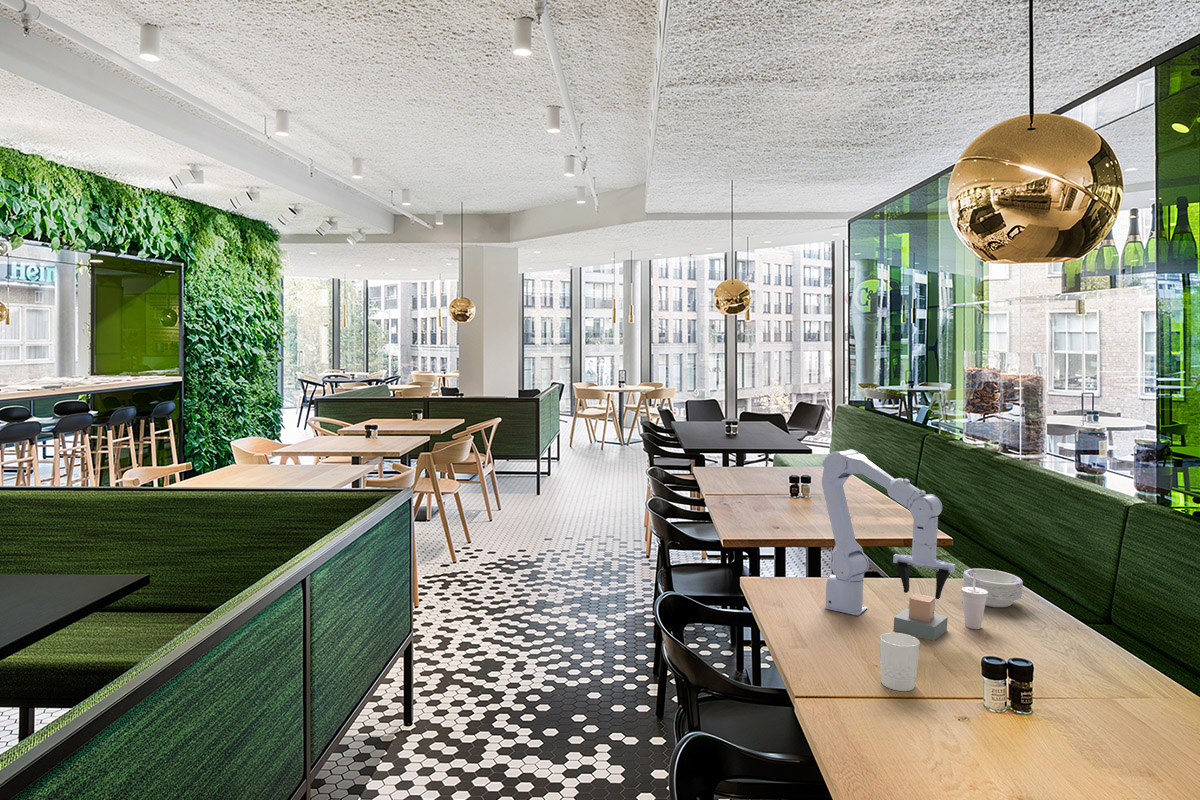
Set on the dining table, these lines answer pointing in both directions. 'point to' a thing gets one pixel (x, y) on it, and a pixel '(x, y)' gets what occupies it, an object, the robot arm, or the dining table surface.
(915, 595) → the terracotta block
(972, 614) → the smoothie
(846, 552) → the robot arm
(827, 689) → the dining table surface
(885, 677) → the white cup
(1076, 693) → the dining table surface
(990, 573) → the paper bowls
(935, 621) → the slate plinth
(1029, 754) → the dining table surface
